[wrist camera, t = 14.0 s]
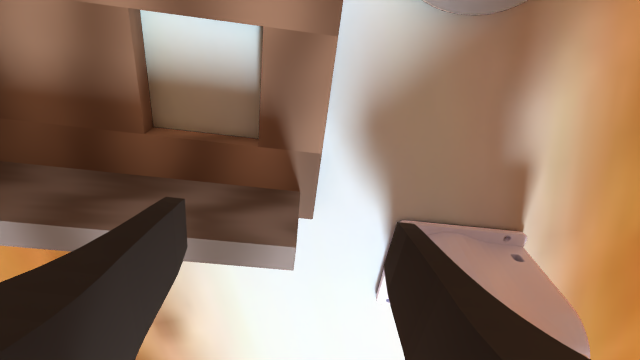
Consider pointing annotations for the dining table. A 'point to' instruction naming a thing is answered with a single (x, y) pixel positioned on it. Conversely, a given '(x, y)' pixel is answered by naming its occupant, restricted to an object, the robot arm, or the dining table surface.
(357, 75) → the dining table surface
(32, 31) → the puzzle board
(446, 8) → the saucer
